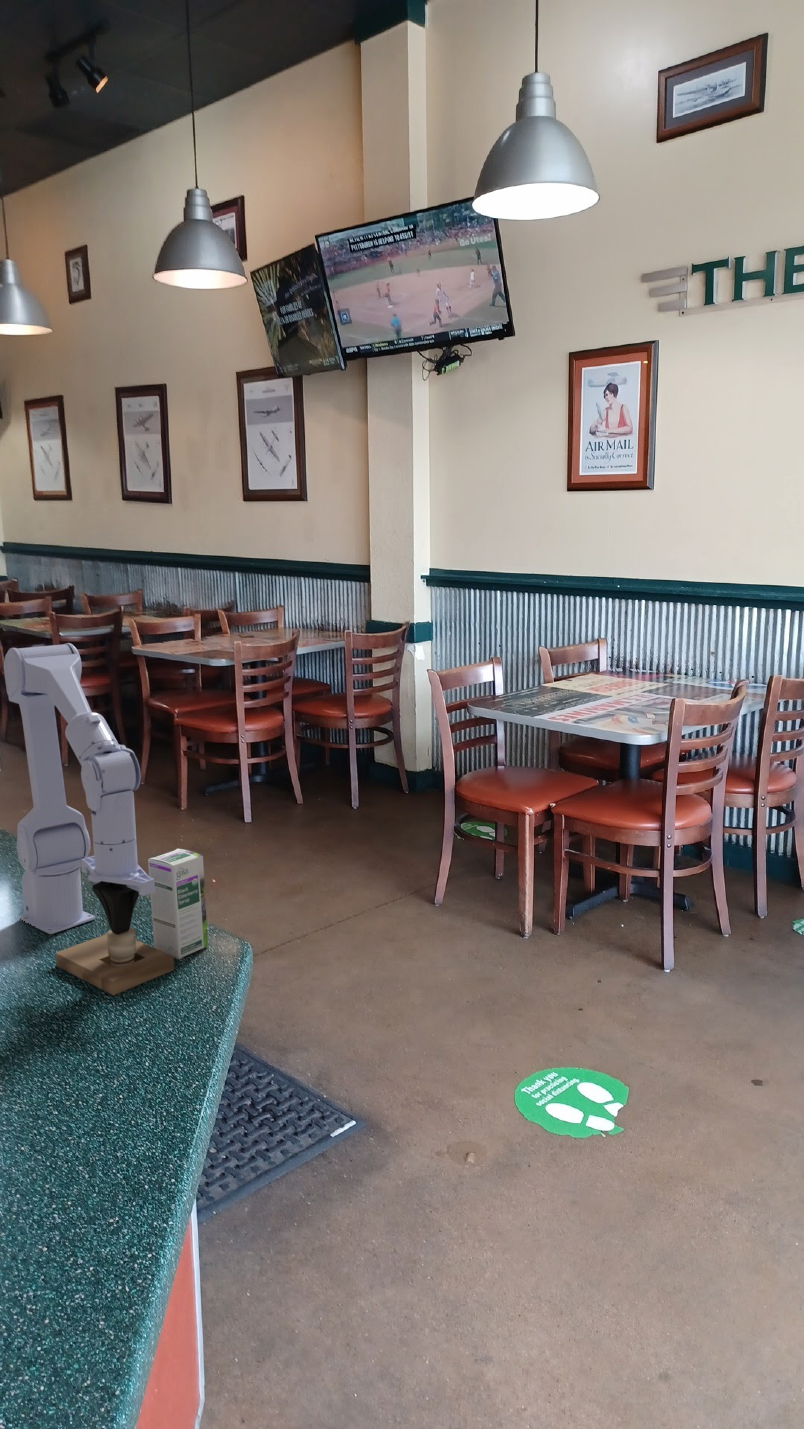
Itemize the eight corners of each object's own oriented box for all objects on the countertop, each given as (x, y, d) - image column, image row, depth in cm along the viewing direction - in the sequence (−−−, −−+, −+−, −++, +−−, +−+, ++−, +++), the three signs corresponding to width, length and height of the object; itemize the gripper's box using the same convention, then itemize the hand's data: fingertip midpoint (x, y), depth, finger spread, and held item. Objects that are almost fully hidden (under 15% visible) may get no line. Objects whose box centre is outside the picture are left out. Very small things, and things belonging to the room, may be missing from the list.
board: (56, 965, 143) (55, 952, 143) (116, 943, 151) (115, 930, 151) (113, 995, 135) (112, 981, 134) (174, 969, 142) (173, 956, 142)
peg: (103, 972, 141) (101, 932, 140) (127, 963, 144) (124, 924, 143) (119, 980, 139) (117, 940, 138) (142, 971, 142) (140, 931, 140)
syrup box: (179, 960, 145) (174, 865, 142) (152, 950, 148) (147, 856, 146) (208, 947, 149) (204, 854, 147) (182, 937, 153) (177, 846, 150)
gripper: (59, 834, 139) (66, 926, 142) (120, 857, 130) (126, 955, 133) (103, 822, 144) (109, 911, 147) (165, 843, 135) (170, 937, 138)
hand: (120, 931), depth 140 cm, fingers closed
